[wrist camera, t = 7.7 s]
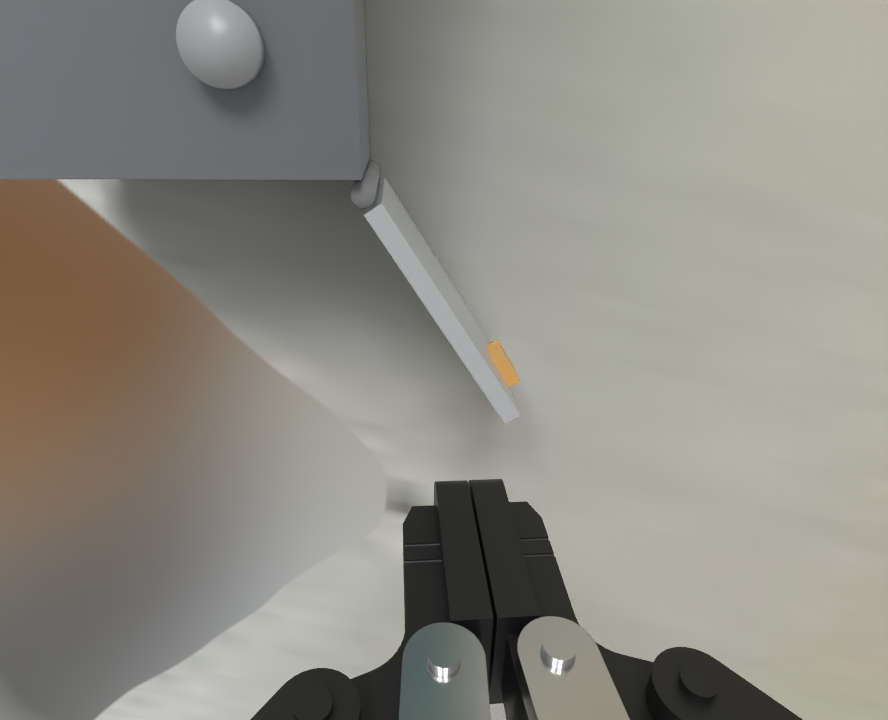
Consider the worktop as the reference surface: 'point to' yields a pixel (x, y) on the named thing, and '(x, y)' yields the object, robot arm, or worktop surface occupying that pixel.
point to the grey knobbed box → (183, 89)
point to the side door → (436, 290)
